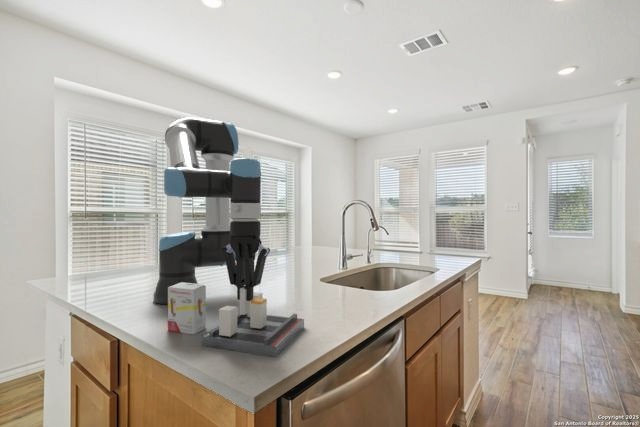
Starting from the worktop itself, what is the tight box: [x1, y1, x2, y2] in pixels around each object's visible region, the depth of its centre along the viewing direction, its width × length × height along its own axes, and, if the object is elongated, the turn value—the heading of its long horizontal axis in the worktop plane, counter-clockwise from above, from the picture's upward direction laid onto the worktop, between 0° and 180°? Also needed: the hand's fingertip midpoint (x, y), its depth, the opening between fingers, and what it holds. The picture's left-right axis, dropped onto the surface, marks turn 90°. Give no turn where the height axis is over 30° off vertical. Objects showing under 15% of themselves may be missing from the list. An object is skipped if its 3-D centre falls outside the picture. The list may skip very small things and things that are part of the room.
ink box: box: [167, 282, 207, 335], centre depth 84 cm, size 9×5×12 cm, turn 72°
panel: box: [201, 312, 305, 358], centre depth 80 cm, size 19×18×4 cm
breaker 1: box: [218, 305, 238, 337], centre depth 75 cm, size 3×3×6 cm
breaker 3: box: [250, 298, 268, 329], centre depth 80 cm, size 3×3×7 cm
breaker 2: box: [247, 291, 263, 317], centre depth 87 cm, size 3×3×6 cm
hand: (245, 312), depth 81 cm, fingers closed
